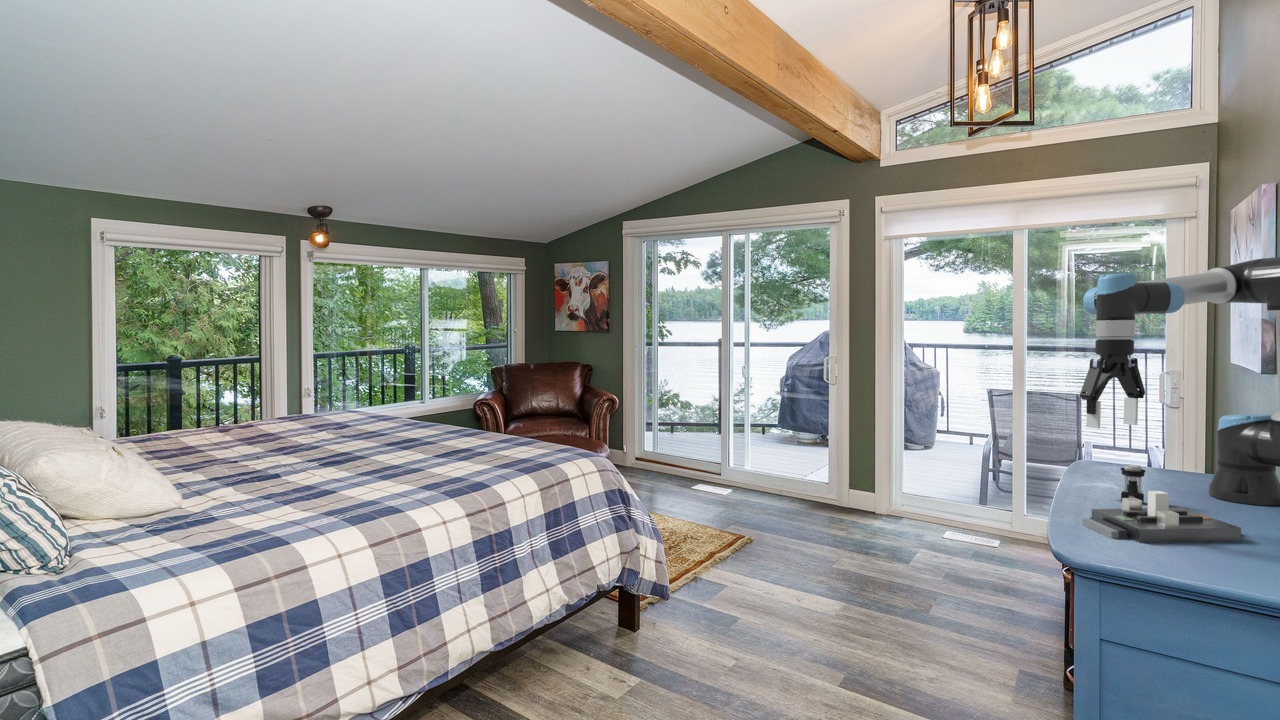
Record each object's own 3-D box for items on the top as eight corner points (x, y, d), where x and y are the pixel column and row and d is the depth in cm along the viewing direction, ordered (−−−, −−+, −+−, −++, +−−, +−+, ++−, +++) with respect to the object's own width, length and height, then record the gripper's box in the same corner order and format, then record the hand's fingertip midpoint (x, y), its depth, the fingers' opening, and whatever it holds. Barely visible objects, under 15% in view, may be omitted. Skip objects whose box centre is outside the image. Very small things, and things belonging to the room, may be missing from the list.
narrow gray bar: (1096, 524, 157) (1096, 517, 157) (1126, 538, 147) (1126, 530, 147) (1082, 524, 157) (1082, 517, 157) (1111, 538, 147) (1111, 530, 147)
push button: (1112, 501, 176) (1113, 465, 175) (1116, 497, 180) (1116, 462, 179) (1143, 506, 171) (1143, 468, 171) (1146, 501, 175) (1146, 465, 174)
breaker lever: (1160, 515, 153) (1160, 490, 152) (1168, 519, 150) (1168, 493, 150) (1147, 516, 153) (1147, 491, 152) (1155, 519, 150) (1155, 493, 150)
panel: (1182, 519, 159) (1182, 495, 159) (1240, 541, 143) (1241, 514, 143) (1091, 520, 160) (1091, 497, 160) (1139, 542, 144) (1139, 516, 144)
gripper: (1131, 337, 163) (1129, 421, 164) (1063, 338, 154) (1061, 427, 155) (1164, 338, 156) (1162, 425, 157) (1095, 339, 147) (1093, 431, 148)
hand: (1112, 426), depth 156 cm, fingers open, 13 cm apart
